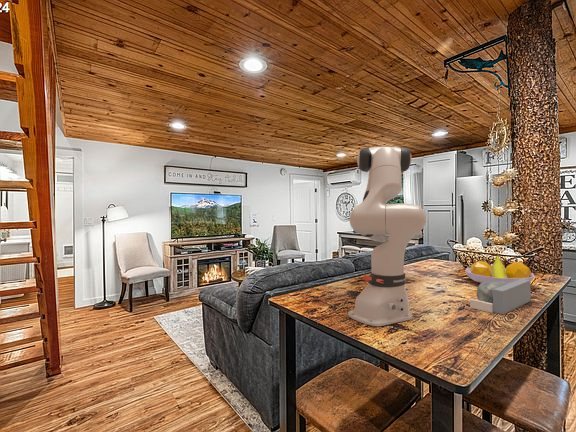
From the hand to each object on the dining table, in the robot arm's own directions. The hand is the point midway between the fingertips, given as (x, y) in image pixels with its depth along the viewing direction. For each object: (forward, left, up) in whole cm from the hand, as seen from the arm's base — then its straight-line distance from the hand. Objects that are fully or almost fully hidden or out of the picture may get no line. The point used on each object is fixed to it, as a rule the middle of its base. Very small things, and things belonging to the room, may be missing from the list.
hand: (419, 235), depth 137 cm
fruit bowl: (+31, -20, -24) cm, 44 cm away
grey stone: (0, -31, -24) cm, 39 cm away
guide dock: (0, -33, -24) cm, 41 cm away
